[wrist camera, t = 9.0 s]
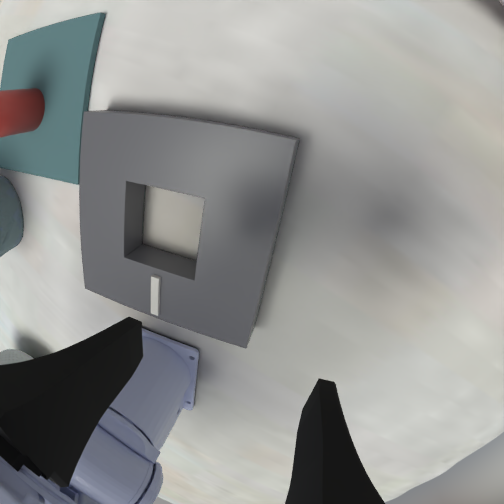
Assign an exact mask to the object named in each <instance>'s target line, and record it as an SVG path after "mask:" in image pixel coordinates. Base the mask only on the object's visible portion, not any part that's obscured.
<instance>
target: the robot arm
mask: <svg viewBox="0 0 504 504" xmlns="http://www.w3.org/2000/svg"><path fill="white" fill-rule="evenodd" d="M192 356H193V357H192ZM198 359H199V351H198V350H197V349H195V348H193V347H190V346H188V345H185V344H182V343H179V342H177V341H174V340H171V339H169V338H166V337H163V336H161V335H158V334H156V333H153V332H151V331H148V330H146V329H143V328H142V322H141V321H138V320H136V319H133V318H131V317H128V318H126V319H124V320H122V321H120V322H118V323H116V324H114V325H112V326H111V327H109V328H107V329H105V330H103V331H101V332H99V333H97V334H95V335H93V336H91V337H89V338H87V339H85V340H83V341H81V342H79V343H77V344H74V345H72V346H70V347H68V348H65V349H63V350H60V351H58V352H55V353H52V354H49V355H46V356H43V357H39V358H35V359H31V360H27V361H23V362H17V363H12V364H4V365H0V504H153V502H154V501H155V499H156V497H157V496H158V494H159V492H160V489H161V486H162V483H163V473H162V467H161V465H160V464H159V463H158V462H156V460H157V458H158V456H159V454H160V451H159V450H160V449H161V447H162V446H163V444H164V443H165V441H166V439H167V437H168V435H169V433H170V431H171V429H172V427H173V426H174V424H175V422H176V420H177V418H178V416H179V414H180V412H181V410H182V408H184V409H187V410H192V409H193V407H194V397H195V387H196V377H197V368H198ZM285 504H385V503H384V501H383V500H382V498H381V496H380V495H379V493H378V492H377V490H376V489H375V487H374V486H373V484H372V482H371V480H370V478H369V477H368V475H367V473H366V471H365V469H364V467H363V465H362V463H361V461H360V458H359V456H358V454H357V452H356V449H355V447H354V444H353V441H352V439H351V436H350V433H349V430H348V427H347V424H346V421H345V418H344V415H343V411H342V408H341V404H340V401H339V397H338V393H337V388H336V384H335V383H334V382H332V381H328V380H323V379H318V381H317V383H316V385H315V387H314V389H313V391H312V393H311V395H310V396H309V398H308V400H307V402H306V404H305V406H304V407H303V410H302V414H301V418H300V422H299V427H298V431H297V439H296V447H295V455H294V463H293V470H292V478H291V483H290V488H289V492H288V495H287V499H286V502H285Z"/></svg>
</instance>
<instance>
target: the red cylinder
mask: <svg viewBox="0 0 504 504" xmlns="http://www.w3.org/2000/svg"><path fill="white" fill-rule="evenodd" d="M44 111H45V101H44V96H43V94H42V92H41V91H40V90H39V89H37V88H31V89H15V90H4V91H0V138H1V137H6V136H10V135H15V134H20V133H25V132H31V131H34V130H36V129H37V128H38V127H39V125H40V124H41V122H42V119H43V116H44Z"/></svg>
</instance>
